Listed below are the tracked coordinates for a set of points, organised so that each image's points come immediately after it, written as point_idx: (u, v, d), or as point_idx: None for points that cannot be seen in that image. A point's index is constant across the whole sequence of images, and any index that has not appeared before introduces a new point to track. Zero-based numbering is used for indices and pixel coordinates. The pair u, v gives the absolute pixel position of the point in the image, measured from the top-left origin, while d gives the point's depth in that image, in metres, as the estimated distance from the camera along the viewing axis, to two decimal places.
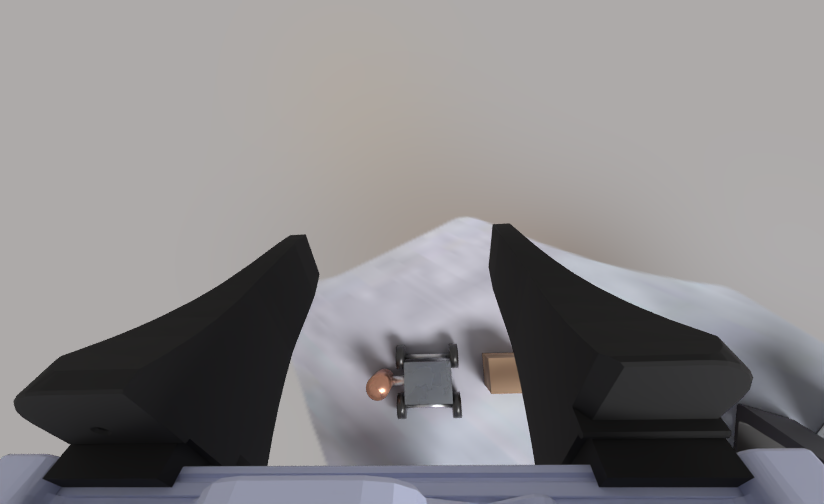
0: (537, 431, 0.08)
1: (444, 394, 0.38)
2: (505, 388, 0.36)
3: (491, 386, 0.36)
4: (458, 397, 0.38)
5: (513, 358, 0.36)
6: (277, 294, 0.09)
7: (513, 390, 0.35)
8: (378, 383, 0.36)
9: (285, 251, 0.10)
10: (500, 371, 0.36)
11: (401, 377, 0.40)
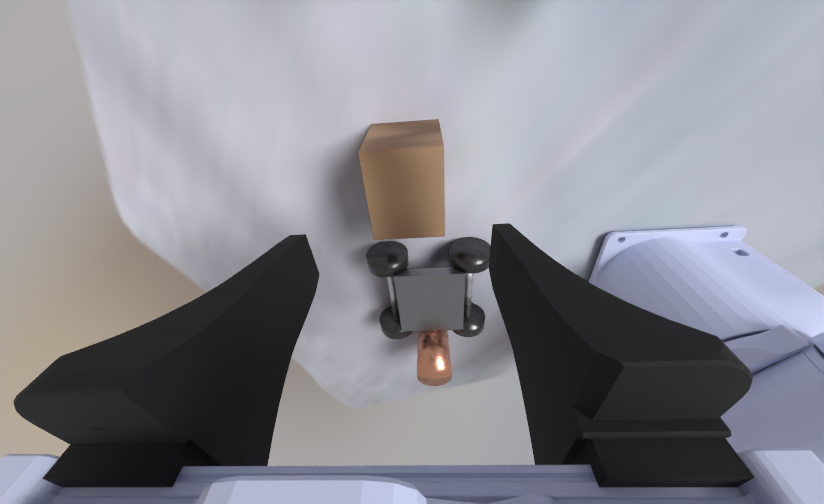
0: (537, 431, 0.08)
1: (449, 284, 0.22)
2: (432, 209, 0.16)
3: (430, 234, 0.17)
4: (456, 261, 0.21)
5: (367, 191, 0.15)
6: (277, 294, 0.09)
7: (438, 194, 0.15)
8: (428, 375, 0.25)
9: (285, 251, 0.10)
10: (398, 217, 0.16)
11: None
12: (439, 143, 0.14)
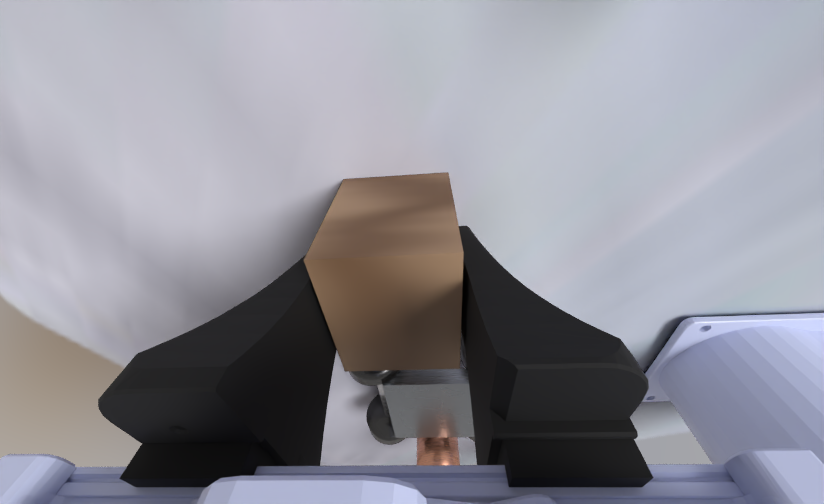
0: (476, 431, 0.08)
1: (461, 393, 0.15)
2: (441, 337, 0.09)
3: None
4: None
5: (328, 314, 0.09)
6: None
7: (450, 318, 0.09)
8: None
9: None
10: (383, 346, 0.10)
11: None
12: (454, 242, 0.08)
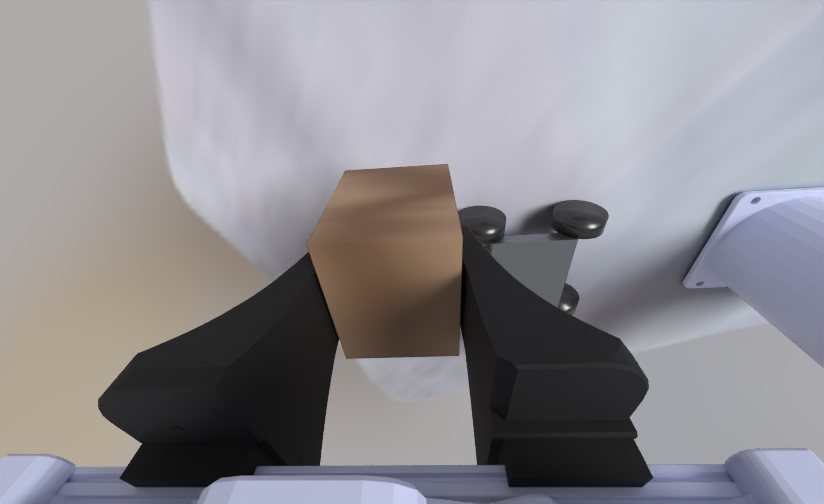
0: (476, 431, 0.08)
1: (555, 253, 0.18)
2: (441, 323, 0.10)
3: None
4: (567, 224, 0.18)
5: (329, 299, 0.09)
6: None
7: (450, 304, 0.09)
8: None
9: None
10: (383, 333, 0.10)
11: None
12: (454, 227, 0.08)
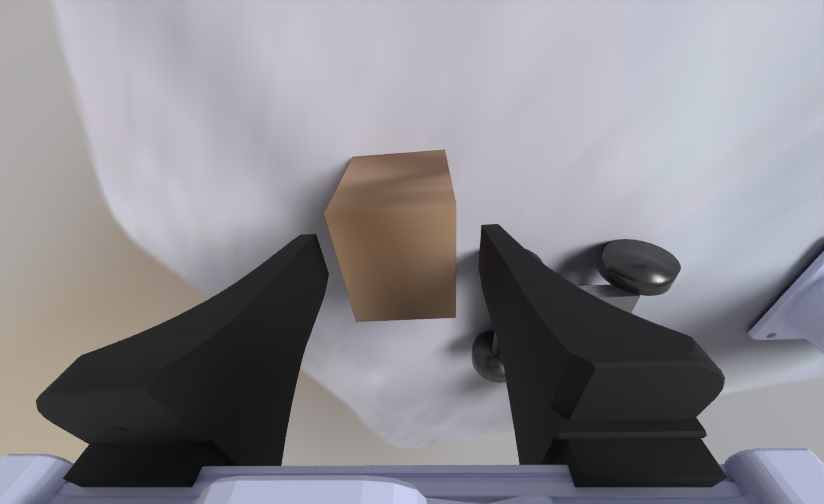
0: (521, 431, 0.08)
1: None
2: (439, 286, 0.11)
3: None
4: (626, 276, 0.14)
5: (342, 264, 0.10)
6: (290, 294, 0.09)
7: (446, 267, 0.10)
8: None
9: (297, 250, 0.10)
10: (389, 296, 0.11)
11: None
12: (448, 198, 0.09)
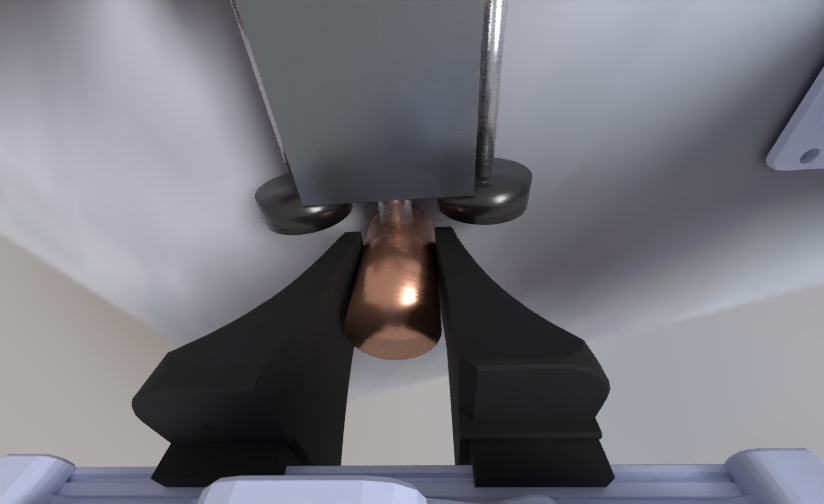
0: (454, 432, 0.08)
1: None
2: None
3: None
4: None
5: None
6: (343, 291, 0.09)
7: None
8: (376, 328, 0.09)
9: (348, 248, 0.10)
10: None
11: None
12: None
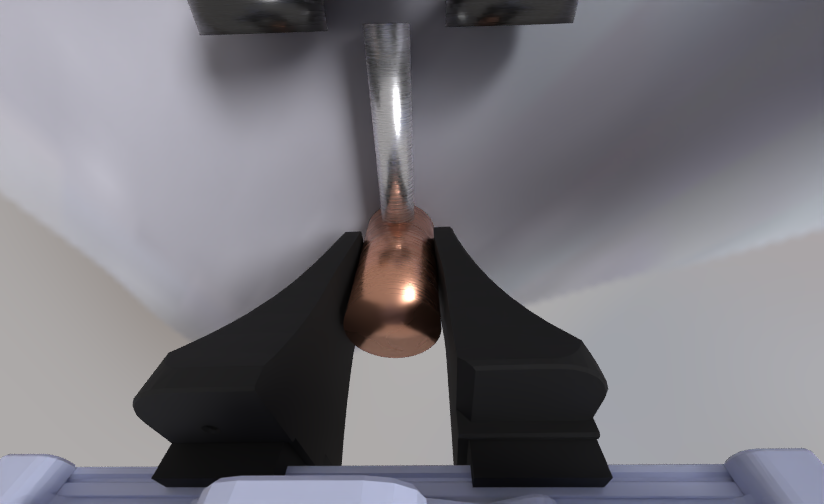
0: (452, 432, 0.08)
1: None
2: None
3: None
4: None
5: None
6: (344, 291, 0.09)
7: None
8: (376, 325, 0.09)
9: (348, 248, 0.10)
10: None
11: (382, 192, 0.10)
12: None
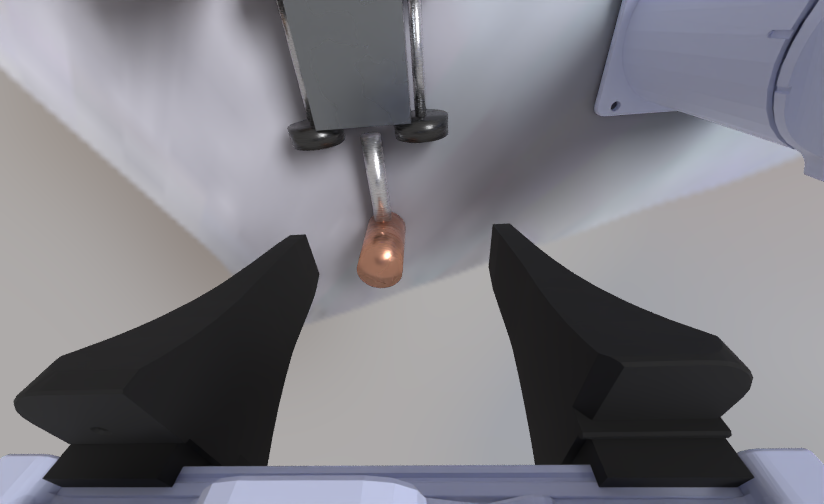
0: (537, 431, 0.08)
1: None
2: None
3: None
4: None
5: None
6: (277, 294, 0.09)
7: None
8: (371, 269, 0.18)
9: (285, 251, 0.10)
10: None
11: (373, 207, 0.20)
12: None
